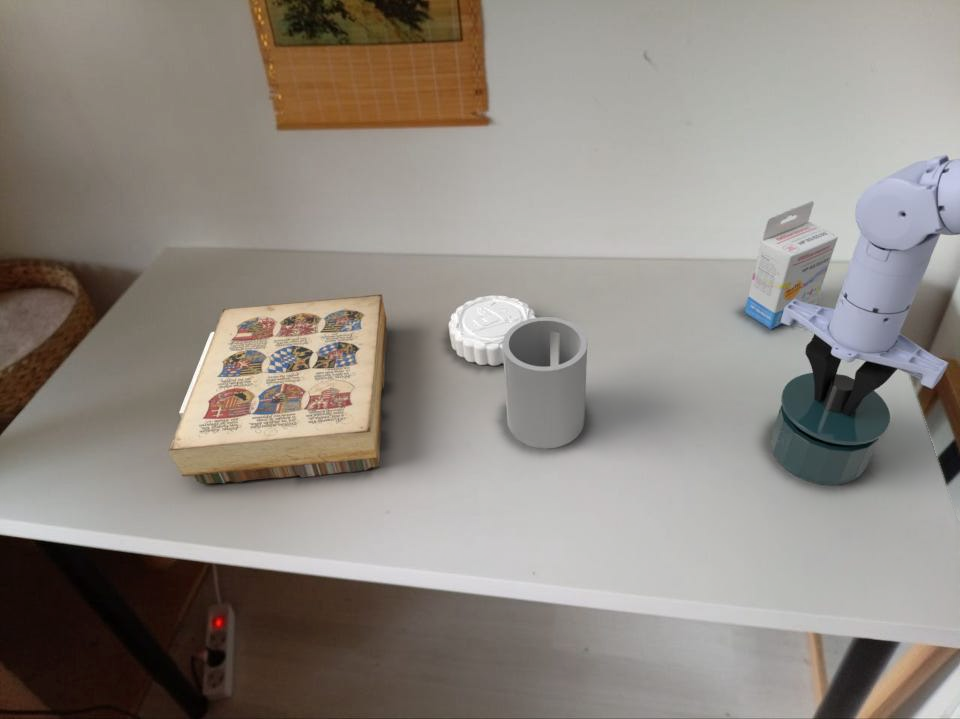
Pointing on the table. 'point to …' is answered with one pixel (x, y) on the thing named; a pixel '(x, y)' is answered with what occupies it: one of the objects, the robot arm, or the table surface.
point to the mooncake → (485, 327)
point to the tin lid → (834, 411)
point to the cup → (545, 382)
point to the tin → (817, 454)
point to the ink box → (789, 265)
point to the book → (286, 392)
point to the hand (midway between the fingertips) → (835, 402)
